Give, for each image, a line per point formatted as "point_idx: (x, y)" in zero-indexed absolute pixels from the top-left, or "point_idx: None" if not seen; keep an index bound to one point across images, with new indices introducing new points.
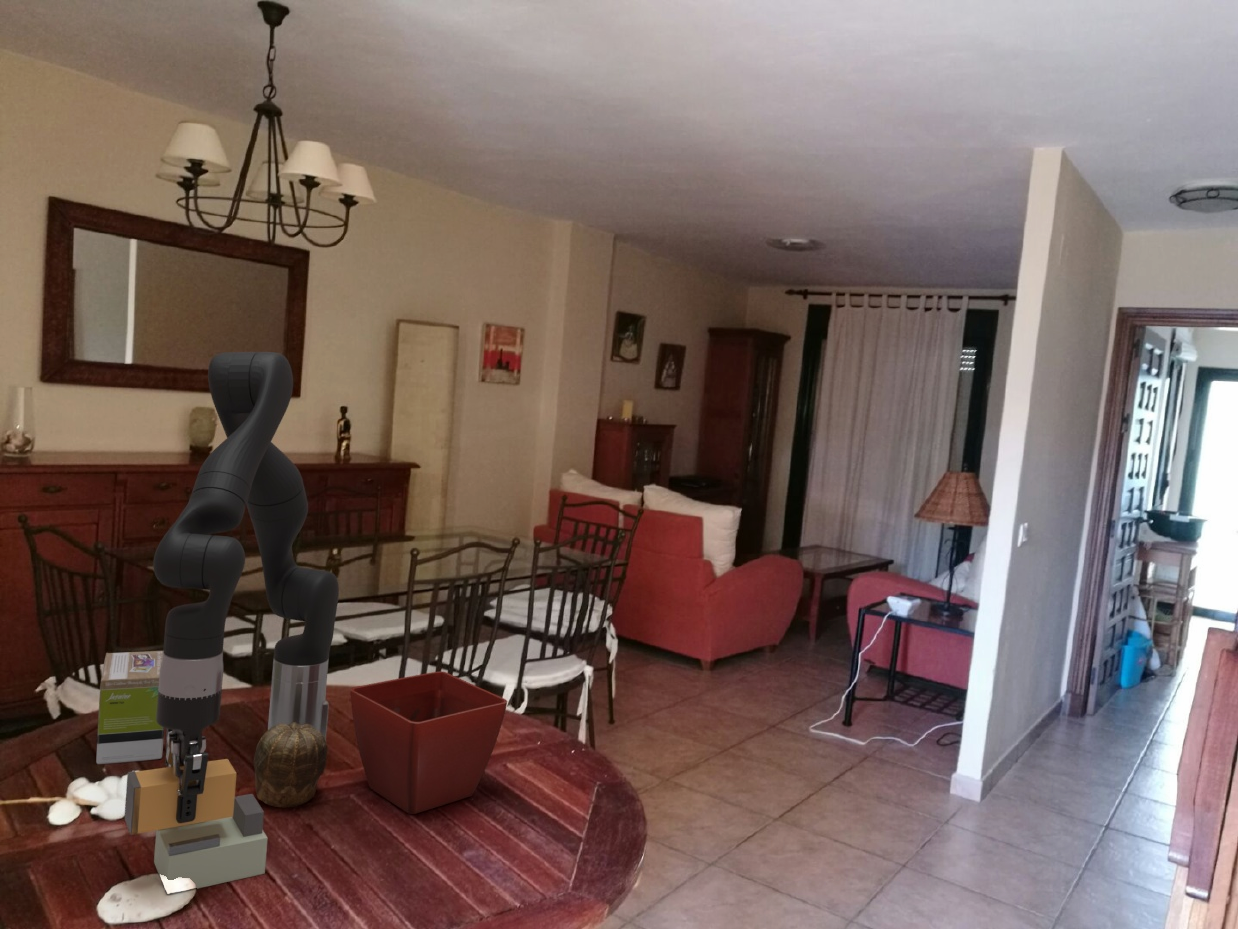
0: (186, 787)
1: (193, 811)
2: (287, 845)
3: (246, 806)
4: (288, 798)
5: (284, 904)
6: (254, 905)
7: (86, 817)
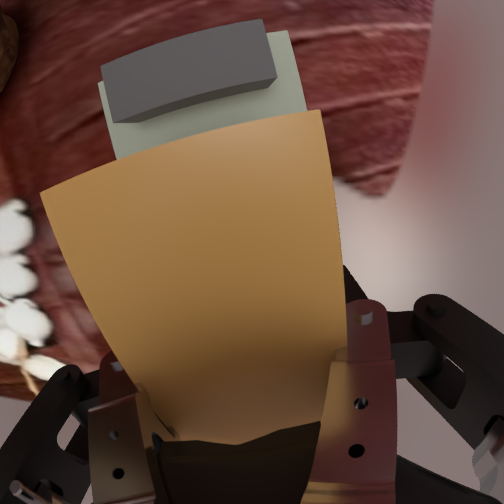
0: (460, 373)
1: (349, 274)
2: (159, 14)
3: (202, 72)
4: (11, 42)
5: (388, 44)
6: (382, 89)
7: (53, 351)
